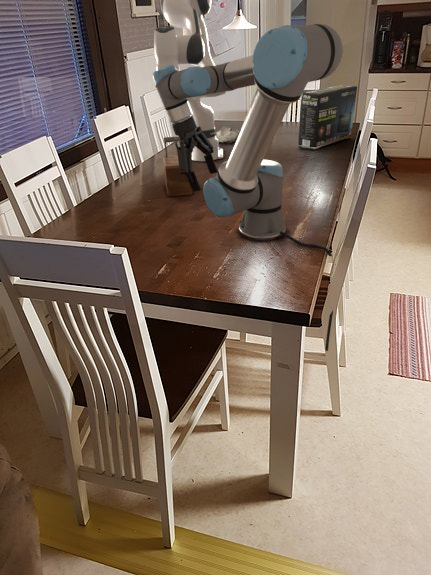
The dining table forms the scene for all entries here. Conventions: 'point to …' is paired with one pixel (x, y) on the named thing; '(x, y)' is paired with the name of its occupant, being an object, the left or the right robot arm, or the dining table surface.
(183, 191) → the chest
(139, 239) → the dining table surface
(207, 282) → the dining table surface
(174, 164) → the lid
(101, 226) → the dining table surface
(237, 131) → the fossil
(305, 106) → the router box
